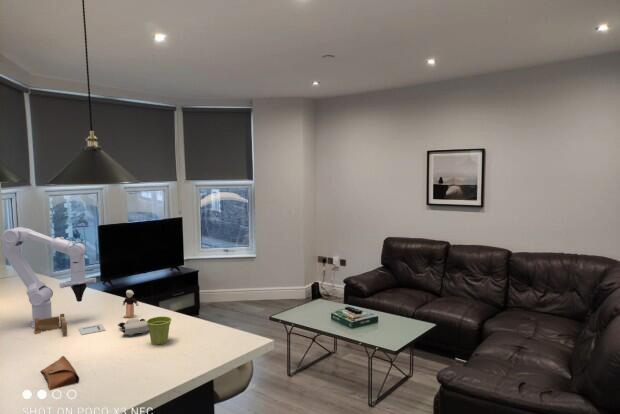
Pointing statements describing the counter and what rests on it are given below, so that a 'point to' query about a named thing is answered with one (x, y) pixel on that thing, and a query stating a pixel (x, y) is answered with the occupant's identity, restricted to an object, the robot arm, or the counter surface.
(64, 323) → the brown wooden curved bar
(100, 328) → the card
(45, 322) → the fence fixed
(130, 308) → the grandmother figurine
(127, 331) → the robot toy
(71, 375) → the sunglasses case
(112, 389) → the counter surface
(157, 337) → the plant pot
